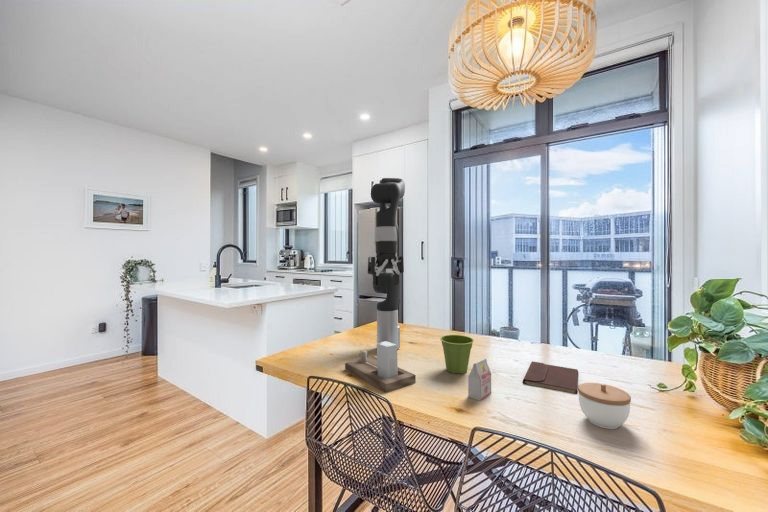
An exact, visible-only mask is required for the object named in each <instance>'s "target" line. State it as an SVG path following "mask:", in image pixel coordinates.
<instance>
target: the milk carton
mask: <svg viewBox="0 0 768 512" xmlns="http://www.w3.org/2000/svg"><path fill="white" fill-rule="evenodd" d="M467 376H468V377H467V379H468V380H467V382H468V383H467V384H468V385H467V386H468V387H467V391H468V392H467V394H468V395H467V397H468V398H471V399H473V400H474V399H475V400H477V401H481V400H483V399H485V398H486V397H488V396H489V395H490V394H492V372H491V369H490V367H489V363H488V361H487V358H482V359H481V360H479V361H476V362H474V363H473V365H472V368H471V370H470V372H469V374H468V375H467Z"/></svg>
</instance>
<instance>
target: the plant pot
mask: <svg viewBox="0 0 768 512" xmlns="http://www.w3.org/2000/svg"><path fill="white" fill-rule="evenodd" d="M439 340H440V341H441V346H442V348H443V356H444V362H445V368H446V370H447V372H450V373H452V374H465V373H467V372H468V368H469V367H468V366H469V362H470V356H471V350H472V348H473V343H474V342H475V339H474V338H472V337H470V336H467V335H461V334H446V335H442V336H440V337H439Z"/></svg>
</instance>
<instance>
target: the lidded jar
mask: <svg viewBox="0 0 768 512" xmlns="http://www.w3.org/2000/svg"><path fill="white" fill-rule="evenodd" d="M577 393H578V402H579V407H580V409H581V411H582V413H583V414H584V416H585V417H586V418H587V419H588V421H589V422H590V423H591V424H592V425H594V426H596V427H598V428H602V429H605V430H606V429H607V430H616V429H619V427H620V426H622V425H623V424H624V423H625V422H627V420H628V418H629V416H630V410H631V402H632V400H631V399H632V398H631V395H630V394H629V393H628V391H627V392H626V391H625V390H623V389H621V388H618V387H616V386H613V385H609V384H606V383H599V382H584V383H580V384H579V385H578V387H577Z"/></svg>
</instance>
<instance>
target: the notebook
mask: <svg viewBox="0 0 768 512" xmlns="http://www.w3.org/2000/svg"><path fill="white" fill-rule="evenodd" d="M578 380H579V370H578V368H572V367H566V366H565V367H564V366H560V365H553V364H546V363H543V362H539V361H531V363H530V364H529V366H528V368H527V371H526V373H525V375H524V378H523V380H522V384H525V383H527V384H526V385H530V384H531V385H532V386H534V387H535V386H536V387H540V388H541V387H542V388H546V389H552V390H557V391H562V392H567V393H572V394H578V386H579V385H578V383H579V381H578ZM524 381H525V382H524ZM531 385H530V386H531Z"/></svg>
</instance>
